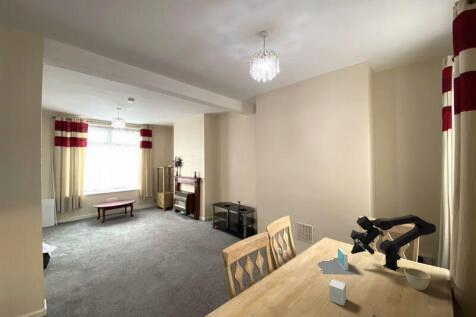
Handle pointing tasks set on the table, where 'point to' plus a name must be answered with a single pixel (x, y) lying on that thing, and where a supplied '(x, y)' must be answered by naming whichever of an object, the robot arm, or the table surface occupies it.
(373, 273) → the table surface
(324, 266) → the mat
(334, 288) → the product box
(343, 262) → the tile
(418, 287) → the cream bowl
